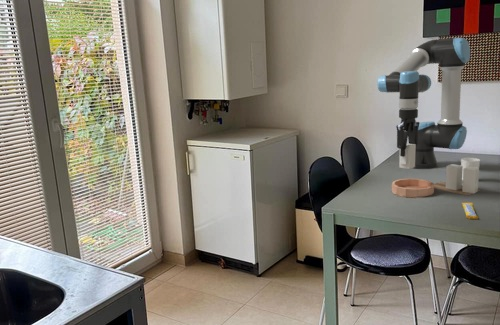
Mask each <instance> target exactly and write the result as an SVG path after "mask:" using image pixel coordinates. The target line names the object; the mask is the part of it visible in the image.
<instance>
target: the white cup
mask: <svg viewBox="0 0 500 325" xmlns="http://www.w3.org/2000/svg"><path fill="white" fill-rule="evenodd" d="M480 164H481V159H480V158H477V157H463V158H462V157H461V159H460V165H461V166H463V169H464V168H466V167H475V168H479V169H480ZM462 181H463V170H462Z"/></svg>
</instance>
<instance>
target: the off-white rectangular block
mask: <svg viewBox="0 0 500 325" xmlns="http://www.w3.org/2000/svg"><path fill="white" fill-rule="evenodd" d="M462 170H463V166H461V164H454V163H451V164H448V165H446V172H445V174H446V175H445V183H446V188H447V189H452V190H458V189H461V188H462V186H463V180H462Z"/></svg>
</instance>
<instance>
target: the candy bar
mask: <svg viewBox="0 0 500 325" xmlns="http://www.w3.org/2000/svg"><path fill="white" fill-rule="evenodd" d="M461 204H462V208H463V210H464V213H465V215H466V219H467V220H479V215H477V214H476V211H475V208H474V202H461Z"/></svg>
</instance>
